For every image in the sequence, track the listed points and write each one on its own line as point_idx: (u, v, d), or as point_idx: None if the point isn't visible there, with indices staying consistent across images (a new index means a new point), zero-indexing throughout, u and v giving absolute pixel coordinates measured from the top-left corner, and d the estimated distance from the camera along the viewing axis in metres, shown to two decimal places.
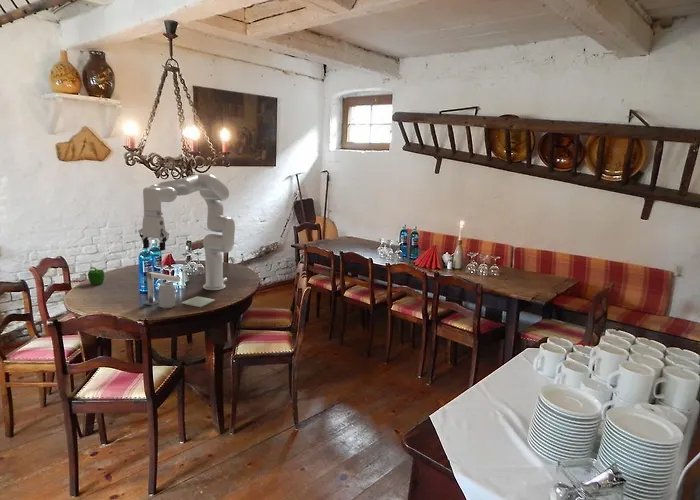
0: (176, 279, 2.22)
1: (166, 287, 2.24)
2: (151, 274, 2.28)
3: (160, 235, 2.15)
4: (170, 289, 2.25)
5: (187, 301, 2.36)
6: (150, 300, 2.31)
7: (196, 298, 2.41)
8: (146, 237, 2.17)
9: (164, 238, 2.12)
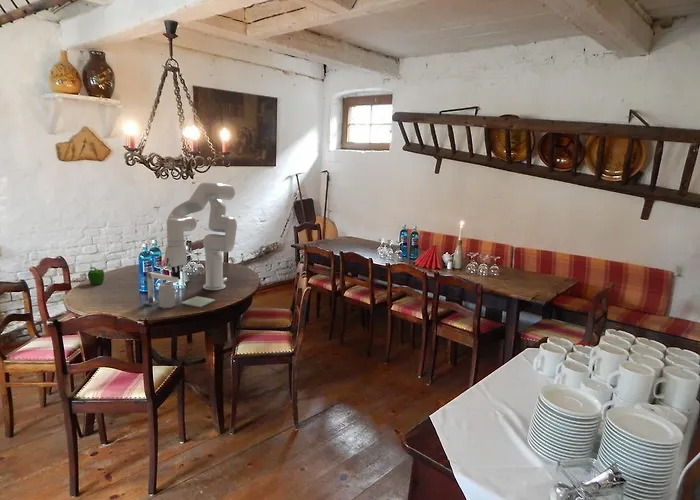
0: (174, 279, 2.21)
1: (166, 287, 2.24)
2: (151, 274, 2.28)
3: None
4: (170, 289, 2.25)
5: (187, 301, 2.36)
6: (150, 300, 2.31)
7: (196, 298, 2.41)
8: None
9: (182, 266, 2.26)
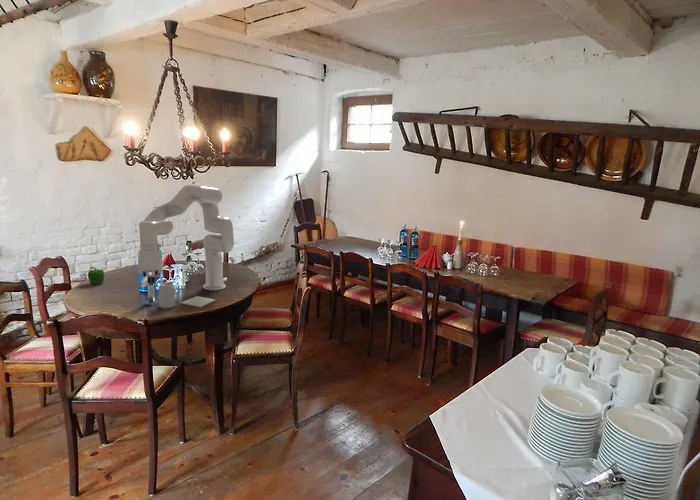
0: None
1: (166, 287, 2.24)
2: None
3: None
4: (170, 289, 2.25)
5: (187, 301, 2.36)
6: (150, 300, 2.31)
7: (196, 298, 2.41)
8: None
9: (156, 272, 2.15)
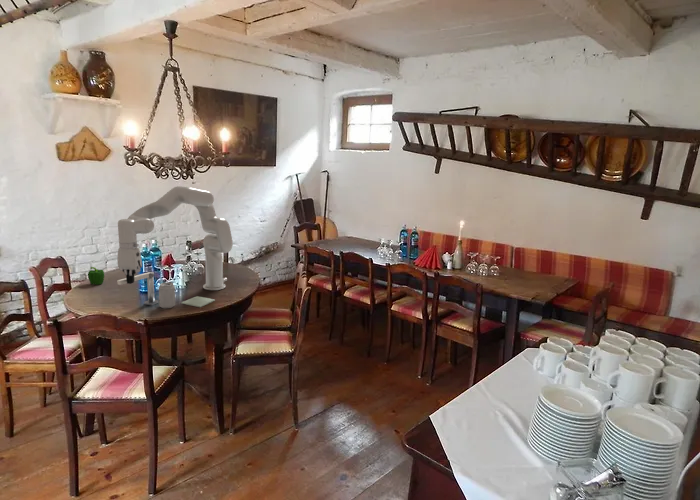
0: None
1: (166, 287, 2.24)
2: None
3: None
4: (170, 289, 2.25)
5: (187, 301, 2.36)
6: (150, 300, 2.31)
7: (196, 298, 2.41)
8: (128, 271, 2.15)
9: (133, 271, 2.13)
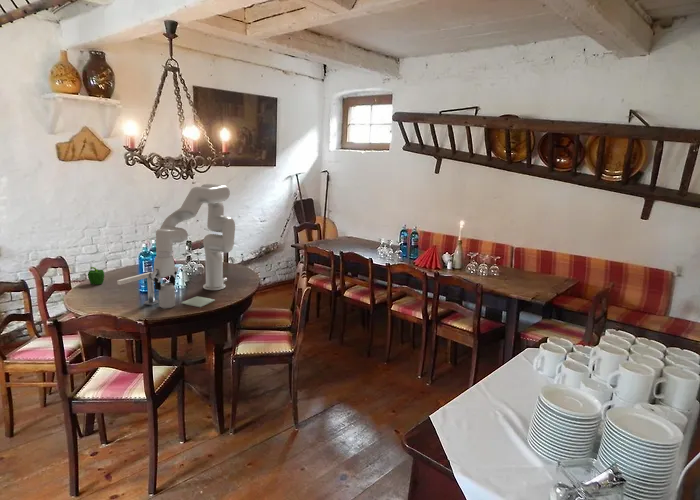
0: None
1: (166, 287, 2.24)
2: None
3: None
4: (170, 289, 2.25)
5: (187, 301, 2.36)
6: (150, 300, 2.31)
7: (196, 298, 2.41)
8: None
9: (176, 272, 2.31)
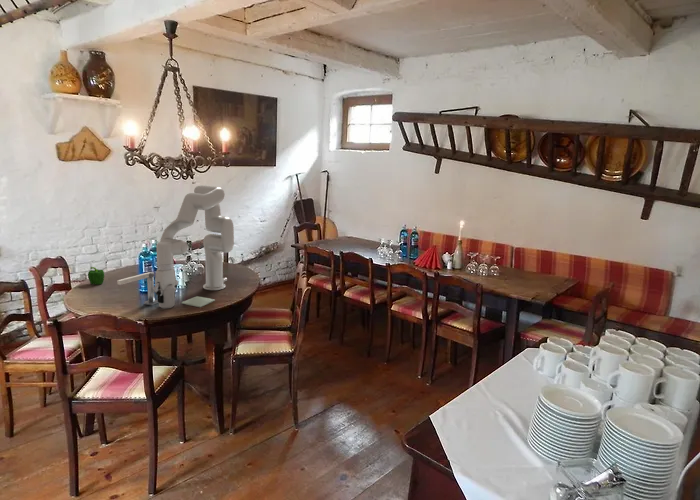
0: None
1: (166, 287, 2.24)
2: None
3: None
4: (170, 289, 2.25)
5: (187, 301, 2.36)
6: (150, 300, 2.31)
7: (196, 298, 2.41)
8: None
9: (176, 285, 2.33)
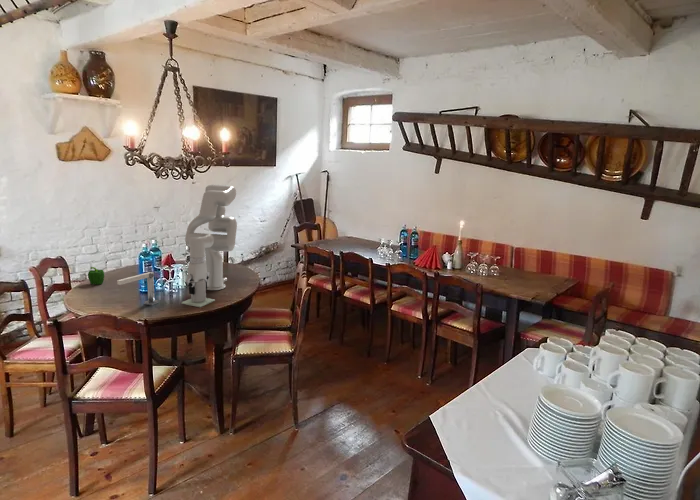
0: None
1: (198, 282, 2.33)
2: None
3: None
4: (202, 284, 2.33)
5: (187, 301, 2.36)
6: (150, 300, 2.31)
7: None
8: None
9: (208, 277, 2.42)
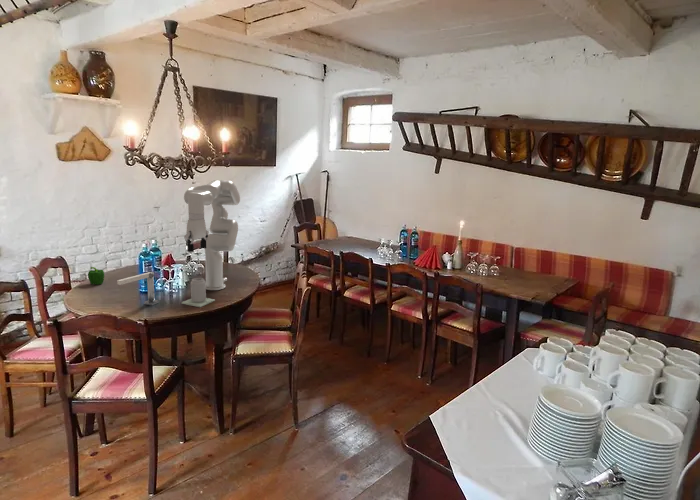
0: None
1: (198, 282, 2.33)
2: None
3: None
4: (202, 284, 2.33)
5: (187, 301, 2.36)
6: (150, 300, 2.31)
7: None
8: None
9: (207, 236, 2.37)
